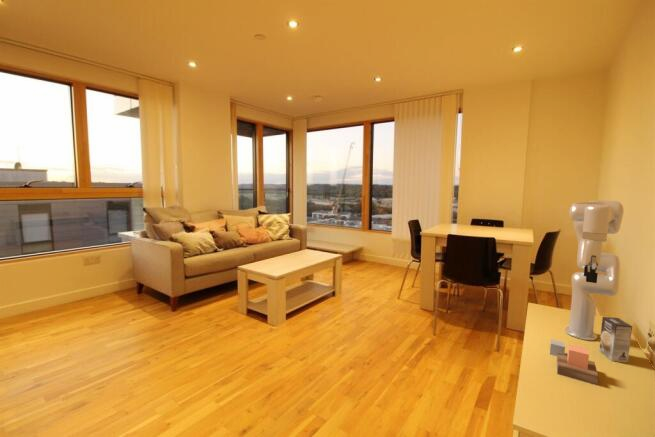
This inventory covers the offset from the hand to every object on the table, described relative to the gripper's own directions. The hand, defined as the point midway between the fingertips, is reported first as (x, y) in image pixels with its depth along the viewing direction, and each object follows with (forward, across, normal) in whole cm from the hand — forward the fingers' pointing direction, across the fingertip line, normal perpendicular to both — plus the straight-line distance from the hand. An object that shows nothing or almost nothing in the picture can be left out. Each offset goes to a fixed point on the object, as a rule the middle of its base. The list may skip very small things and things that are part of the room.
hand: (589, 279), depth 127 cm
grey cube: (+36, -6, -8) cm, 38 cm away
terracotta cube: (+33, +7, -2) cm, 34 cm away
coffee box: (+36, -18, +12) cm, 42 cm away
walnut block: (+37, +7, -2) cm, 38 cm away
